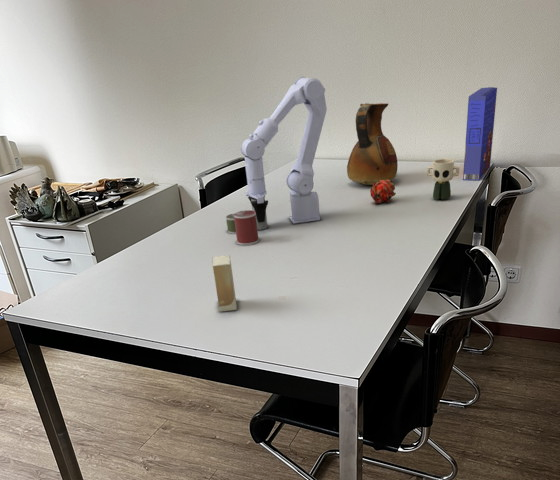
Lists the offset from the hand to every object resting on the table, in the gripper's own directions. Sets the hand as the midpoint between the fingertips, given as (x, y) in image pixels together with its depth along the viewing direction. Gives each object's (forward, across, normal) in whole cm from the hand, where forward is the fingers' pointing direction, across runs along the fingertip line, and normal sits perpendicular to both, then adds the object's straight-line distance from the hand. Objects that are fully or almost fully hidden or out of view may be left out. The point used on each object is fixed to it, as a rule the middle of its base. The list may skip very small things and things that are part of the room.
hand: (260, 219), depth 199 cm
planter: (+3, 0, 0) cm, 3 cm away
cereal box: (+3, -32, +92) cm, 98 cm away
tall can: (+3, +12, -6) cm, 14 cm away
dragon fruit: (+3, -10, +46) cm, 47 cm away
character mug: (+3, -4, +66) cm, 66 cm away
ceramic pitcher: (+3, -38, +51) cm, 64 cm away
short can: (+3, -1, -8) cm, 9 cm away
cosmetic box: (+3, +60, -17) cm, 62 cm away
